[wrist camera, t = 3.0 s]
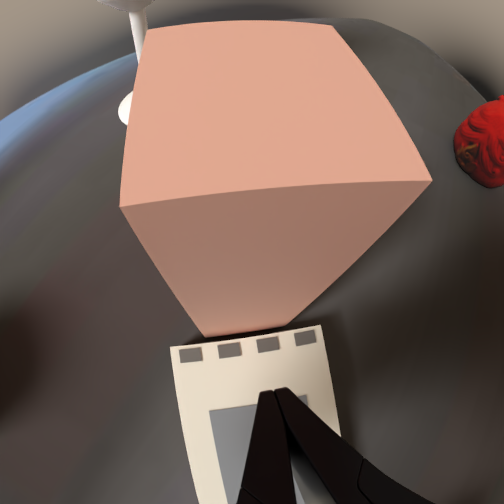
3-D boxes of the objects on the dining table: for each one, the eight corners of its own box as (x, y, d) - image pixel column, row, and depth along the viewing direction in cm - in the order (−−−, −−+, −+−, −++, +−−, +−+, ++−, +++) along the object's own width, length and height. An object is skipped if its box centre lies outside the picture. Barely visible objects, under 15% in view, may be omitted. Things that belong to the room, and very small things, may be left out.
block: (285, 326, 17) (435, 180, 4) (204, 337, 16) (115, 208, 3) (269, 245, 19) (333, 25, 6) (194, 254, 18) (145, 30, 5)
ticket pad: (342, 506, 13) (351, 516, 11) (211, 531, 12) (210, 544, 10) (312, 327, 17) (320, 323, 16) (175, 347, 16) (169, 345, 15)
